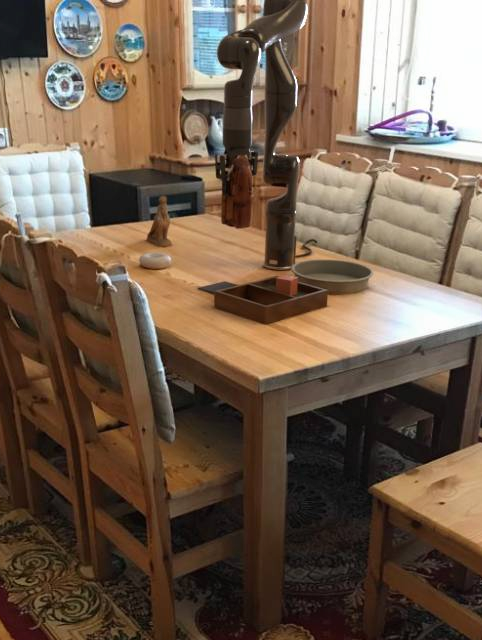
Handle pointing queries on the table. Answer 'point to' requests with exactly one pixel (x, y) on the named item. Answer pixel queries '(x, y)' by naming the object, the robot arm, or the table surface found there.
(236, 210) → the wooden figurine
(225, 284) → the rubber mat
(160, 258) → the donut
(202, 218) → the table surface
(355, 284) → the cake pan
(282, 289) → the terracotta block
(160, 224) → the worn brown figurine
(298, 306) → the walnut tray
